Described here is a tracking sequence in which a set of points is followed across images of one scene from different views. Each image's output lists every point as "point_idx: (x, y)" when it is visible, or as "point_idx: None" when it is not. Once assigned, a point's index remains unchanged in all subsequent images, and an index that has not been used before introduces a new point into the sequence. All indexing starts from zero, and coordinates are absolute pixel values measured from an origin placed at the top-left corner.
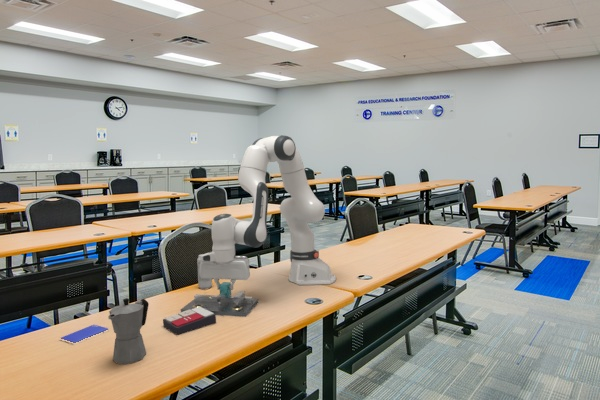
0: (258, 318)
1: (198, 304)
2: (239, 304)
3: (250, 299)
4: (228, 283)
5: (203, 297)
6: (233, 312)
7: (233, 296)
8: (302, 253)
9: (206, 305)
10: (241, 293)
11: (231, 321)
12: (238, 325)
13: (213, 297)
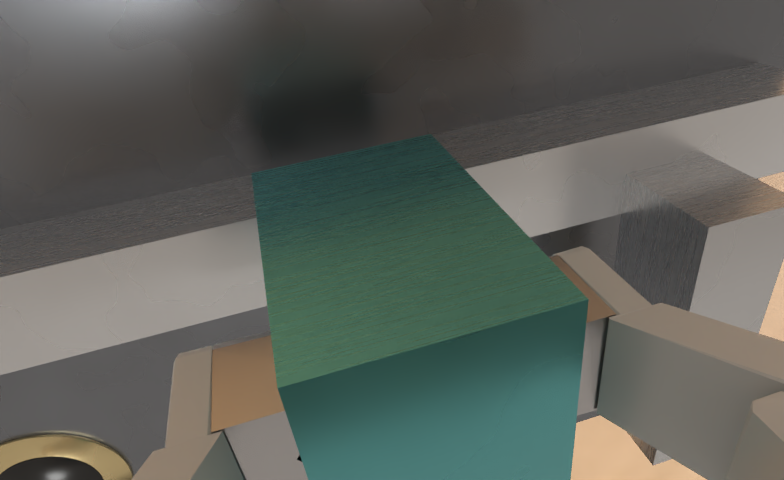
0: (774, 337)
1: (16, 468)
2: (590, 228)
3: (778, 164)
4: (554, 421)
5: None
6: (584, 417)
7: (501, 185)
8: None
9: (158, 426)
10: (749, 314)
11: (578, 460)
12: (644, 477)
13: (126, 332)
